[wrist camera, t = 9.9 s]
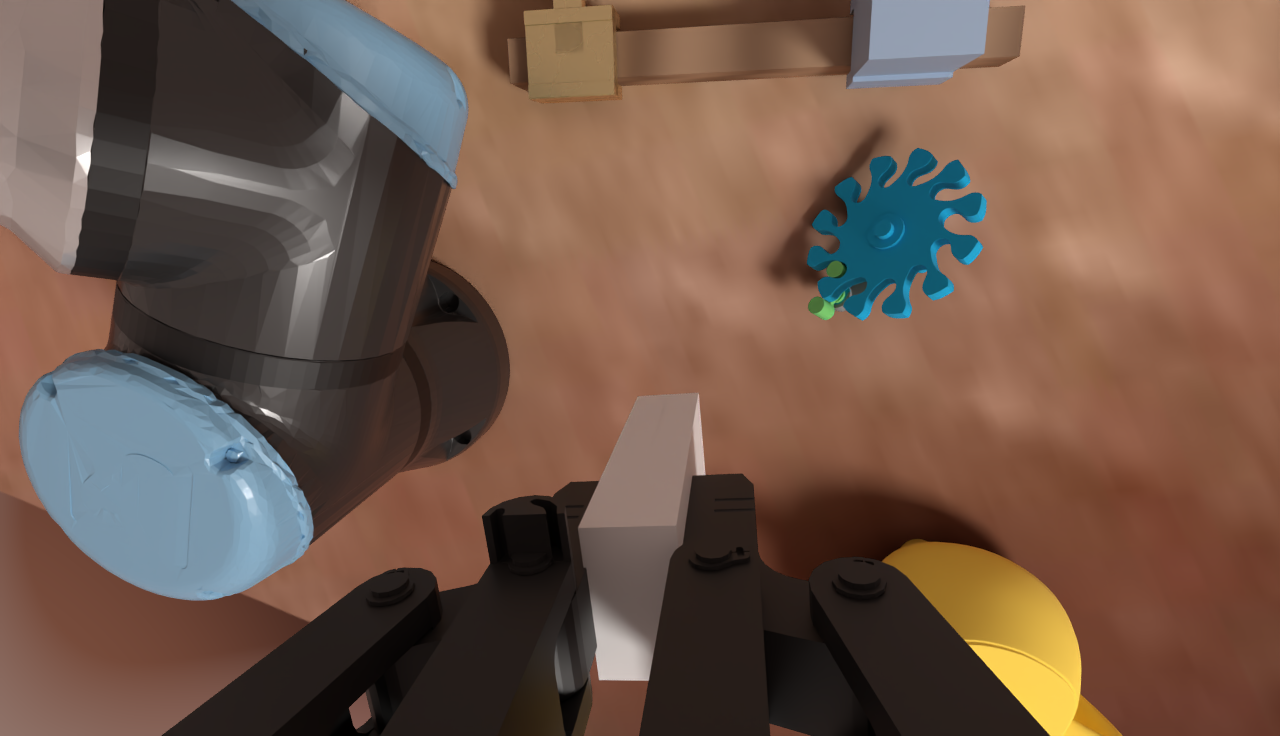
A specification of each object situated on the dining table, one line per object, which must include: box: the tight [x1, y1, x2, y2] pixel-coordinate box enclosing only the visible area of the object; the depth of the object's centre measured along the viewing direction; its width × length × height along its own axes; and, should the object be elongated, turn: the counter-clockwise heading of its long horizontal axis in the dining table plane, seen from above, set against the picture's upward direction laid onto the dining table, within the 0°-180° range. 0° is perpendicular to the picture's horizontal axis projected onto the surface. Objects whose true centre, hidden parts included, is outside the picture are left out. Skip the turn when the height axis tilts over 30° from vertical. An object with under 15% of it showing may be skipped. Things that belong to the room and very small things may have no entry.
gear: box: [807, 148, 987, 320], centre depth 39 cm, size 11×6×10 cm
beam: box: [507, 6, 1025, 91], centre depth 38 cm, size 28×2×3 cm, turn 92°
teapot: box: [882, 539, 1122, 736], centre depth 41 cm, size 14×14×12 cm
